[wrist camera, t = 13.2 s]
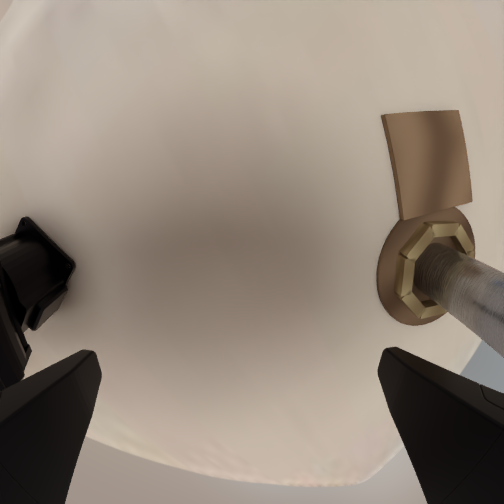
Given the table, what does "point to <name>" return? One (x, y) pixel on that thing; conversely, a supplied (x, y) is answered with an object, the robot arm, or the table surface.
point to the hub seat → (407, 252)
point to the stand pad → (428, 161)
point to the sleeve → (464, 290)
